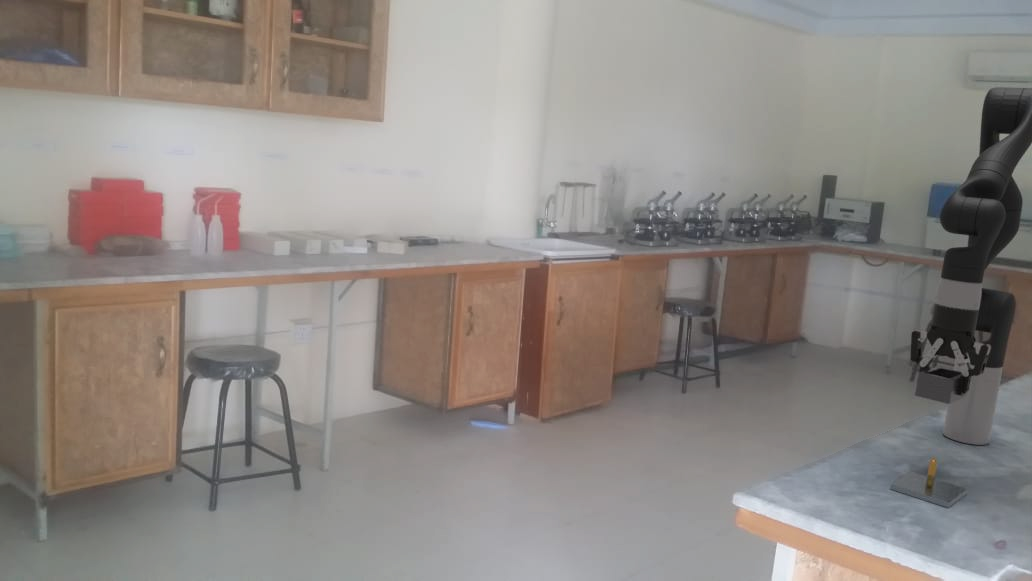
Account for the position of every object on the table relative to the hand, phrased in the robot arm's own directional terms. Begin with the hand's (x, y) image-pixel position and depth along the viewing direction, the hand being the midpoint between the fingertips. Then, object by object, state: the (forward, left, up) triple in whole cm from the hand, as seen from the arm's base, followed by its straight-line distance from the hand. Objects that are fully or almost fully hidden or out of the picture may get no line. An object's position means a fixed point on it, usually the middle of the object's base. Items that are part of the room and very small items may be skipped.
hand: (941, 390), depth 170 cm
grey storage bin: (0, 0, -1) cm, 1 cm away
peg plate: (+12, +4, -16) cm, 20 cm away
